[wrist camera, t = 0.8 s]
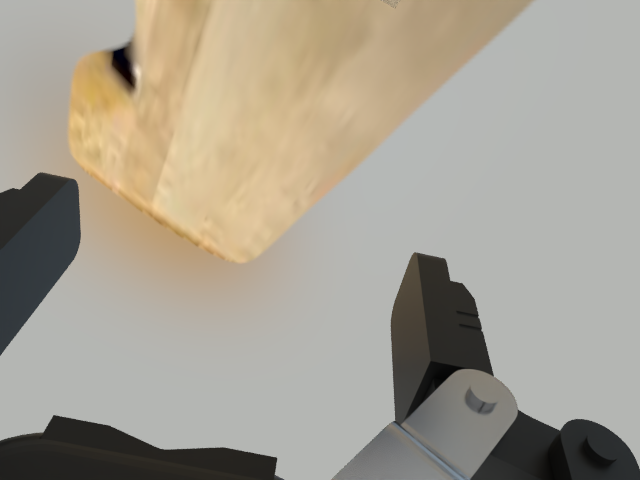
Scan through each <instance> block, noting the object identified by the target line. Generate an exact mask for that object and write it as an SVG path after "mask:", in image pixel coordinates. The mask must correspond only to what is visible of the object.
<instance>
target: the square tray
mask: <svg viewBox="0 0 640 480" xmlns="http://www.w3.org/2000/svg"><path fill="white" fill-rule="evenodd" d="M381 1H383V2H385V3H386V4H388V5H390V6H392V7H393V8H395V7H396V6H397V4H398V2H399V1H400V0H381Z"/></svg>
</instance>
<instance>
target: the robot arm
mask: <svg viewBox="0 0 640 480" xmlns="http://www.w3.org/2000/svg"><path fill="white" fill-rule="evenodd" d="M80 237H81V232H80V210H79V190H78V184H77V182H76V180H74V179H70V178H66V177H61V176H56V175H51V174H47V173H38V174H37V175H36V176H35V177H34V178H32V179H31V180H30V181H29V182H28V183H27V184H26V185H25V186H23V187H22V189H20V190H19V189H14V188H12V189H10V190H7V191H4V192H2V193H0V355H1V354H2V353H3V351H4V350H5V348H6V347H7V346H8V345H9V343H10V342H11V341H12V339H13V338H14V337H15V336H16V334H17V333H18V332H19V330H20V329H21V327H22V326H23V325H24V324H25V322H26V321H27V320H28V319H29V317H30V316H31V315H32V313H33V312H34V311H35V309H36V308H37V307H38V306H39V304H40V303H41V302H42V300H43V299H44V298H45V296H46V295H47V294H48V292H49V291H50V290H51V289H52V287H53V286H54V285H55V283H56V282H57V281H58V279H59V278H60V277H61V275H62V274H63V273H64V271H65V270H66V269H67V268H68V266H69V265H70V264H71V262H72V261H73V260H74V258H75V256H76V254H77V251H78V248H79V244H80ZM478 316H479V315H478V311H477V307H476V303H475V299H474V298H473V297H472V295H471V294H470V293H469V291H468V290H467V289H466V287H465V286H464V285H463V284H462V283H458V282H453V281H450V277H449V272H448V267H447V262H446V260H445V259H444V258H439V257H434V256H429V255H425V254H420V253H413V255H412V257H411V259H410V261H409V264H408V267H407V269H406V272H405V275H404V278H403V280H402V283H401V286H400V289H399V291H398V294H397V297H396V300H395V303H394V306H393V311H392V317H391V341H392V362H393V382H394V401H395V402H394V403H395V421H393V422H391V423H390V424H389V425H387V426H386V427H385V428H384V429H383V430H382V431H381V432H380V433H379V434H378V435H377V436H376V437H375V438H374V439H373V440H372V441H371V442H370V443H369V444H368V445H367V446H365V447H364V448H363V450H361V451H360V452H359V453H358V454H357V455H356V456H355V457H354V458H353V459H352V460H351V461H350V462H349V463H348V464H347V465H346V466H345V467H344V468H343V469H342V470H340V471H339V472H338V473H337V474H336V475H335V476H334V477H333V478H332V479H331V480H640V469H639V466H638V464H637V461H636V459H635V457H634V455H633V453H632V452H631V450H630V449H629V447H628V446H627V445H626V444H625V443H624V442H623V441H622V440H621V439H620V438H619V437H618V436H617V435H615V434H614V433H613V432H612V431H610V430H609V429H607V428H606V427H604V426H602V425H600V424H598V423H595V422H592V421H589V420H584V419H575V420H571V421H568V422H567V423H566V424H565V425H564V426H563V428H562V429H561V430H560V431H559V430H557V429H555V428H553V427H551V426H549V425H546V424H544V423H542V422H540V421H538V420H536V419H533V418H531V417H530V416H528V415H526V414H524V413H522V412H521V411H519V410H518V407H517V403H516V400H515V398H514V396H513V395H512V393H511V392H510V390H509V389H508V388H507V387H506V386H505V385H504V384H503V383H502V382H501V381H499V380H498V379H497V378H495V377H494V375H493V371H492V367H491V363H490V359H489V355H488V351H487V347H486V343H485V339H484V335H483V332H482V331H481V329H482V327H481V323H480V319H479V318H478ZM276 462H277V458H276V457H271V456H265V455H260V454H254V453H250V452H244V451H239V450H234V449H229V448H200V449H199V448H198V449H175V450H164V449H159V448H157V447H154V446H152V445H150V444H148V443H146V442H143V441H141V440H139V439H137V438H135V437H133V436H130V435H128V434H126V433H124V432H122V431H119V430H117V429H115V428H113V427H111V426H108V425H103V424H97V423H92V422H86V421H81V420H76V419H71V418H66V417H60V416H55V415H54V416H53V417H52V419H51V421H50V422H49V424H48V426H47V428H46V429H45V431H44V433H33V434H26V435H20V436H16V437H11V438H7V439H4V440H1V441H0V480H284V479H282V478H280V477H278V476H276V475H275V469H276Z"/></svg>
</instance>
